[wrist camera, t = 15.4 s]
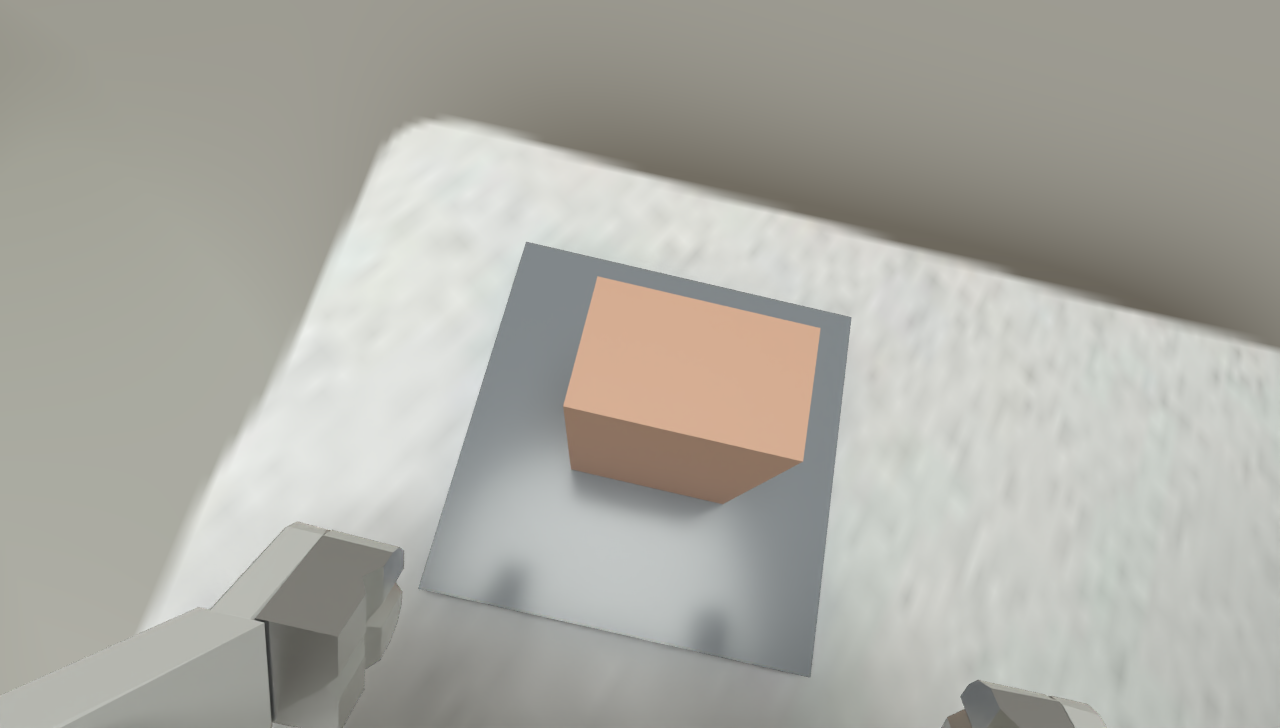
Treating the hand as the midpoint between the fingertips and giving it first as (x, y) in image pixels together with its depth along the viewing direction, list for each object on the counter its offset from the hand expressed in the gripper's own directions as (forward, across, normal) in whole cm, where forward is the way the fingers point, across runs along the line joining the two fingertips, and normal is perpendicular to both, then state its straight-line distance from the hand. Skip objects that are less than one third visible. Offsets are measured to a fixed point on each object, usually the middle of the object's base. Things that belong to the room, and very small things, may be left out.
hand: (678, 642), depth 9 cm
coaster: (+12, 0, +5) cm, 13 cm away
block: (+11, 0, +4) cm, 12 cm away
